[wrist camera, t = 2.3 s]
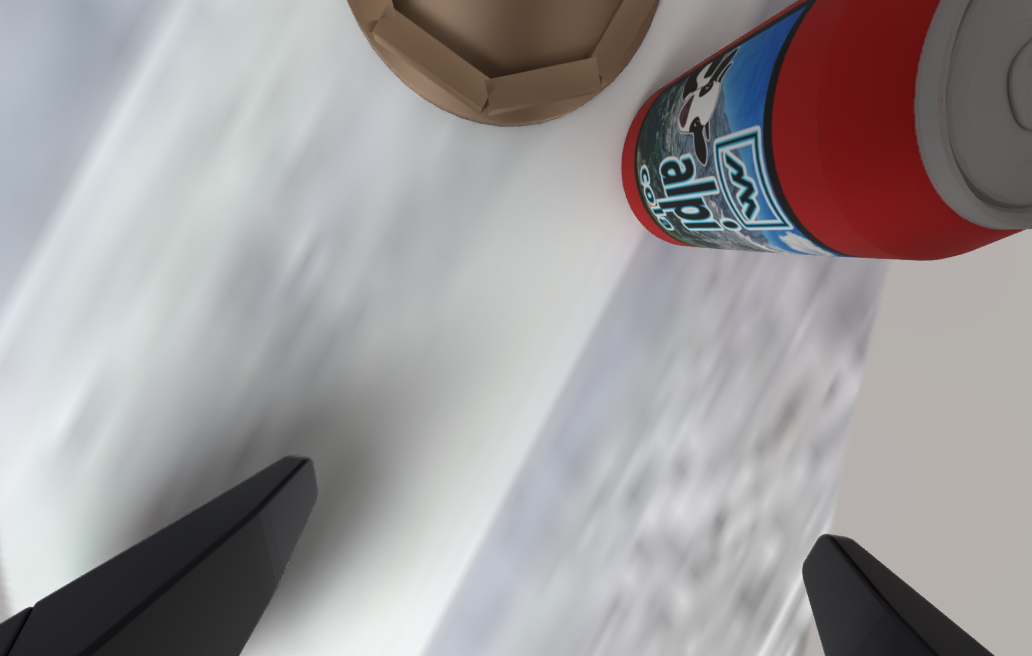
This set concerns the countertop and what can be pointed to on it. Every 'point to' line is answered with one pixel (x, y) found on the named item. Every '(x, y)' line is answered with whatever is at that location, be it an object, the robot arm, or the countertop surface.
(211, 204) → the countertop surface
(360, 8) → the coaster
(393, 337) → the countertop surface
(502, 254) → the countertop surface
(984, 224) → the beverage can
